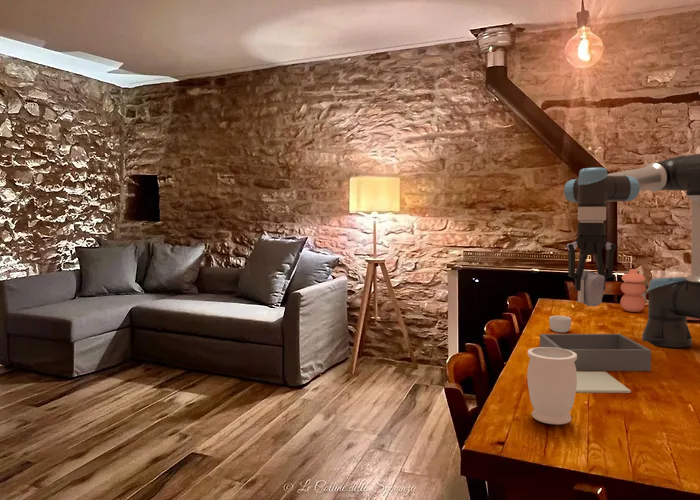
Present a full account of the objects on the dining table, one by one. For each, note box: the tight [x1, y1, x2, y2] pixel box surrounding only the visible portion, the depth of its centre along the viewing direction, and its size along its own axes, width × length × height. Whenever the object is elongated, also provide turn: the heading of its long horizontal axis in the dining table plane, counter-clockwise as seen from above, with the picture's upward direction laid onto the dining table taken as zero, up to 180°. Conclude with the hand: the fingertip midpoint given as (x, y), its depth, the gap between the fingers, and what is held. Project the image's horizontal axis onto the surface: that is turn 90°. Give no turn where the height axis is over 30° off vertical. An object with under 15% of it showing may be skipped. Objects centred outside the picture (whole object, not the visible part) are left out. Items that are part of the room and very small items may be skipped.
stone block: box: [581, 269, 606, 307], centre depth 158 cm, size 12×5×10 cm, turn 172°
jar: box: [526, 346, 577, 425], centre depth 121 cm, size 11×10×15 cm
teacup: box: [548, 315, 572, 334], centre depth 206 cm, size 10×8×5 cm
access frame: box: [539, 333, 652, 372], centre depth 166 cm, size 25×20×6 cm
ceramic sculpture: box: [637, 270, 649, 304], centre depth 264 cm, size 11×9×15 cm
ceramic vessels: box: [619, 268, 700, 321], centre depth 236 cm, size 35×21×19 cm, turn 57°
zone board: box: [575, 371, 632, 394], centre depth 146 cm, size 16×16×1 cm
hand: (589, 301), depth 158 cm, fingers closed on stone block, 4 cm apart
